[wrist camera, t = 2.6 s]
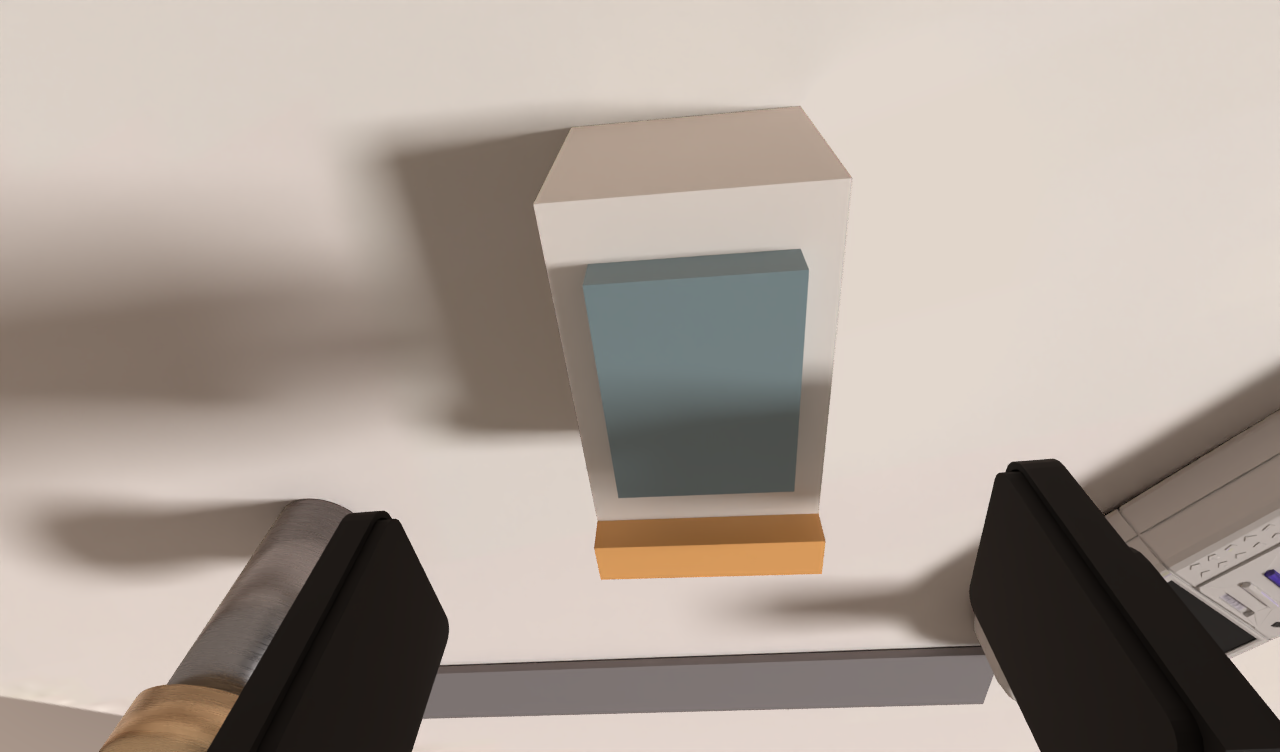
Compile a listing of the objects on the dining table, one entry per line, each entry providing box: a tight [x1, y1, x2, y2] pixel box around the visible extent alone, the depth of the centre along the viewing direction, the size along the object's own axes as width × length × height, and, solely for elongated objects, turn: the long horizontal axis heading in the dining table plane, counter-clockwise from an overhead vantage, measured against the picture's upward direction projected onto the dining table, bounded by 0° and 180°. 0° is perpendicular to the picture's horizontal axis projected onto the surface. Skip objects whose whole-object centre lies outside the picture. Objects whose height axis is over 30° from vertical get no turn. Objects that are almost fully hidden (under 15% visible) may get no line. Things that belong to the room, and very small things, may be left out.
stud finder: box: [533, 106, 852, 580], centre depth 13 cm, size 8×4×5 cm, turn 6°
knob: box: [99, 499, 352, 752], centre depth 17 cm, size 4×4×8 cm
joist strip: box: [422, 647, 994, 719], centre depth 24 cm, size 4×24×1 cm, turn 98°
